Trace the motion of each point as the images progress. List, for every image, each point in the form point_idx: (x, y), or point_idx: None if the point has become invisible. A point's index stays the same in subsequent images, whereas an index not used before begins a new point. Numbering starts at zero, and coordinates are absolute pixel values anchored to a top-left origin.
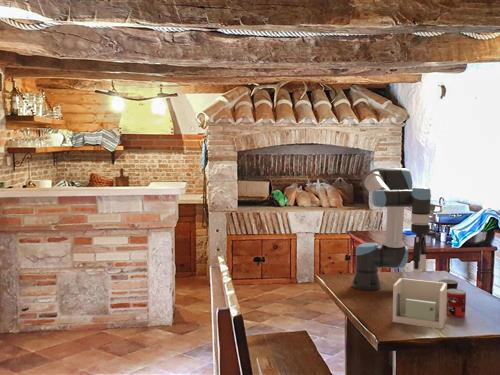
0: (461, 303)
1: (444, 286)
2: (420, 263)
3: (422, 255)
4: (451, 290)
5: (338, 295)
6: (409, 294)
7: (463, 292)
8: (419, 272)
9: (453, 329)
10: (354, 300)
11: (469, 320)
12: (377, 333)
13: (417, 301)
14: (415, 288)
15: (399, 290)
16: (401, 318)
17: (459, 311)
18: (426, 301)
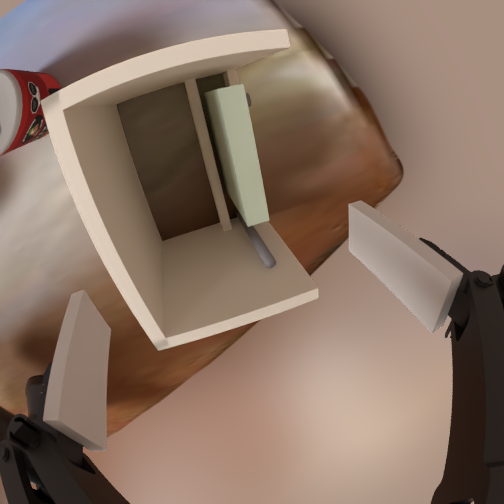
0: (28, 72)
1: (150, 57)
2: (98, 360)
3: (82, 427)
4: None
5: (157, 399)
6: (150, 259)
7: None
8: (384, 217)
9: (205, 31)
10: (158, 371)
11: (65, 41)
12: (368, 202)
13: (259, 169)
14: (136, 254)
15: (222, 287)
16: None
17: (47, 77)
18: (235, 132)
